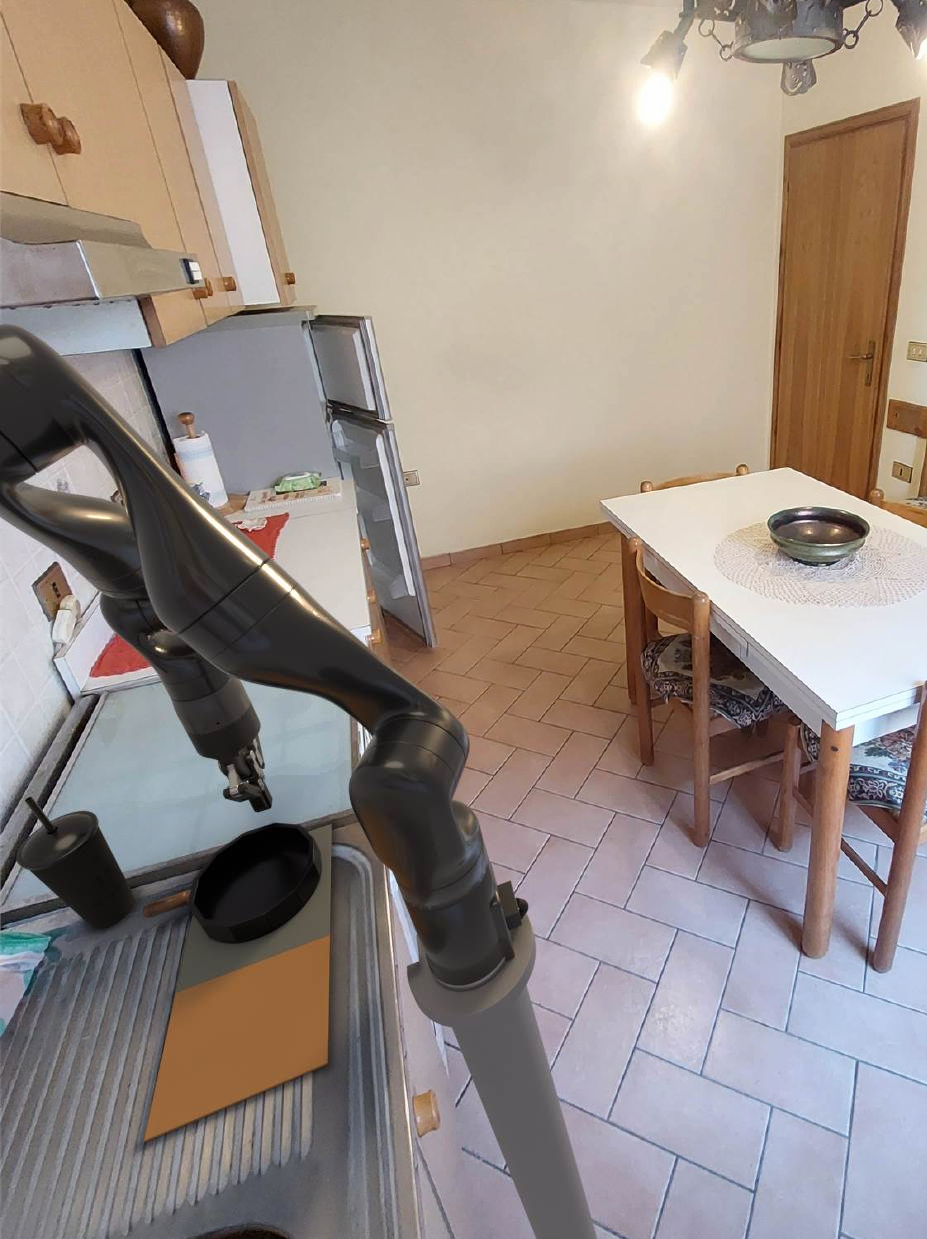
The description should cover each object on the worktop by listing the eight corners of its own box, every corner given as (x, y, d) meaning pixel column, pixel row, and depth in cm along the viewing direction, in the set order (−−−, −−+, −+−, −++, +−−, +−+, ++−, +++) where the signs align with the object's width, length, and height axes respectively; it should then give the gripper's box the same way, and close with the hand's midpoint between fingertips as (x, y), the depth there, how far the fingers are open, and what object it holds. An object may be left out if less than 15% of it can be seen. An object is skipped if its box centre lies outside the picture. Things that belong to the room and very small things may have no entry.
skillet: (323, 826, 90) (315, 808, 88) (320, 915, 79) (311, 896, 77) (166, 878, 85) (154, 860, 83) (138, 982, 73) (123, 964, 72)
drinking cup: (60, 944, 79) (-35, 831, 69) (102, 885, 85) (20, 775, 76) (123, 938, 79) (37, 824, 69) (160, 880, 85) (86, 769, 76)
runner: (331, 825, 91) (331, 823, 90) (327, 1064, 65) (326, 1063, 65) (203, 868, 86) (202, 866, 86) (145, 1142, 60) (143, 1141, 60)
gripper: (242, 735, 78) (290, 834, 86) (254, 672, 89) (296, 765, 97) (171, 756, 76) (227, 855, 84) (193, 688, 87) (241, 781, 95)
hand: (264, 806), depth 90 cm, fingers closed
